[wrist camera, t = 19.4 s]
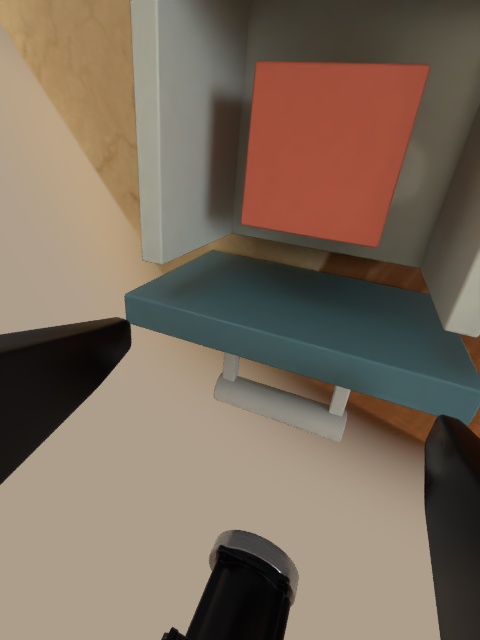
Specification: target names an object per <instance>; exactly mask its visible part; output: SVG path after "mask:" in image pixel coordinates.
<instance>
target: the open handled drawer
mask: <svg viewBox="0 0 480 640" xmlns="http://www.w3.org/2000/svg"><path fill="white" fill-rule="evenodd" d="M130 12H131V33H132V54H133V75H134V96H135V117H136V138H137V159H138V180H139V201H140V222H141V244H142V260H143V261H147V262H151V263H156V264H160V265H162V264H165V263H167V262H169V261H171V260H173V259H176V258H178V257H180V256H182V255H185V254H187V253H189V252H191V251H193V250H196V249H198V248H200V247H202V246H204V245H207V244H209V243H211V242H213V241H215V240H218V239H220V238H222V237H224V236H226V235H229V234H231V233H233V234H238V235H243V236H249V237H254V238H260V239H265V240H270V241H276V242H281V243H287V244H292V245H297V246H303V247H308V248H313V249H319V250H324V251H330V252H335V253H340V254H346V255H351V256H357V257H362V258H367V259H373V260H378V261H384V262H389V263H394V264H400V265H405V266H411V267H416V268H420V270H421V272H422V275H423V277H424V280H425V282H426V285H427V288H428V290H429V293H430V294H425V293H420V292H415V291H410V290H405V289H400V288H396V287H391V286H386V285H381V284H376V283H371V282H366V281H361V280H357V279H352V278H347V277H342V276H337V275H332V274H327V273H322V272H318V271H313V270H308V269H303V268H298V267H293V266H288V265H283V264H279V263H274V262H269V261H264V260H259V259H254V258H249V257H244V256H239V255H235V254H230V253H225V252H220V251H215V250H212V251H210V252H208V253H206V254H204V255H202V256H200V257H198V258H196V259H194V260H192V261H190V262H188V263H186V264H184V265H182V266H180V267H178V268H176V269H174V270H172V271H170V272H168V273H166V274H164V275H162V276H160V277H158V278H156V279H154V280H152V281H151V282H148V283H146V284H144V285H142V286H140V287H138V288H136V289H134V290H132V291H130V292H128V293H126V294H125V308H126V320H128V321H129V322H130V324H133V325H136V326H140V327H143V328H146V329H150V330H153V331H156V332H159V333H163V334H166V335H169V336H173V337H176V338H180V339H183V340H186V341H189V342H193V343H196V344H199V345H203V346H206V347H209V348H213V349H216V350H220V351H223V352H225V353H224V365H223V372H222V373H221V375H220V376H219V378H218V380H217V383H216V385H215V389H214V398H215V399H216V400H219V401H222V402H224V403H227V404H230V405H233V406H236V407H239V408H242V409H244V410H248V411H250V412H253V413H256V414H259V415H262V416H264V417H267V418H271V419H273V420H276V421H279V422H282V423H285V424H287V425H290V426H293V427H296V428H299V429H302V430H305V431H308V432H310V433H313V434H316V435H319V436H322V437H325V438H328V439H330V440H333V441H336V442H340V440H341V438H342V436H343V432H344V428H345V424H346V419H347V411H345V410H344V409H345V406H346V403H347V400H348V397H349V394H350V391H351V390H352V391H355V392H359V393H362V394H365V395H369V396H372V397H375V398H379V399H382V400H385V401H389V402H392V403H395V404H399V405H402V406H405V407H409V408H412V409H415V410H419V411H422V412H425V413H429V414H432V415H435V416H439V415H441V414H444V415H447V416H451V417H454V418H457V419H459V420H461V421H462V422H463V423H464V424H465V425H469V424H470V423H471V421H472V419H473V417H474V416H475V414H476V412H477V410H478V409H479V407H480V376H479V374H478V372H477V370H476V368H475V366H474V364H473V362H472V359H471V357H470V355H469V353H468V351H467V349H466V347H465V345H464V343H463V340H462V338H461V336H460V334H463V335H467V336H472V337H478V336H479V334H480V0H130ZM258 61H279V62H334V63H390V64H428V65H430V72H429V75H428V79H427V82H426V86H425V89H424V92H423V96H422V99H421V103H420V106H419V109H418V113H417V116H416V120H415V123H414V127H413V130H412V133H411V137H410V140H409V144H408V147H407V150H406V154H405V157H404V161H403V164H402V168H401V171H400V174H399V178H398V181H397V185H396V188H395V191H394V195H393V198H392V202H391V205H390V209H389V212H388V215H387V219H386V222H385V226H384V229H383V233H382V236H381V239H380V243H379V246H378V247H377V248H372V247H366V246H360V245H354V244H349V243H343V242H337V241H331V240H326V239H320V238H314V237H308V236H303V235H297V234H291V233H285V232H280V231H274V230H268V229H262V228H257V227H251V226H245V225H242V224H241V216H242V205H243V194H244V184H245V173H246V162H247V151H248V140H249V129H250V118H251V107H252V96H253V85H254V74H255V64H256V62H258ZM240 357H243V358H246V359H249V360H252V361H256V362H259V363H262V364H266V365H269V366H272V367H276V368H279V369H283V370H286V371H289V372H293V373H296V374H299V375H302V376H306V377H309V378H312V379H316V380H319V381H322V382H326V383H329V384H332V385H335V388H334V391H333V395H332V398H331V402H330V405H327V404H324V403H321V402H317V401H314V400H311V399H308V398H305V397H302V396H299V395H296V394H293V393H289V392H286V391H283V390H280V389H277V388H274V387H270V386H267V385H264V384H261V383H258V382H255V381H252V380H249V379H246V378H242V377H239V376H237V375H238V368H239V359H240Z"/></svg>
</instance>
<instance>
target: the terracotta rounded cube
mask: <svg viewBox="0 0 480 640" xmlns="http://www.w3.org/2000/svg"><path fill="white" fill-rule="evenodd" d="M429 72H430V65H428V64H390V63H334V62H279V61H258V62H256V64H255V74H254V85H253V96H252V107H251V118H250V129H249V140H248V151H247V162H246V173H245V184H244V194H243V205H242V216H241V224H242V225H245V226H251V227H257V228H262V229H268V230H274V231H280V232H285V233H291V234H297V235H303V236H308V237H314V238H320V239H326V240H331V241H337V242H343V243H349V244H354V245H360V246H366V247H372V248H377V247H378V246H379V243H380V239H381V236H382V233H383V229H384V226H385V222H386V219H387V215H388V212H389V209H390V205H391V202H392V198H393V195H394V191H395V188H396V185H397V181H398V178H399V174H400V171H401V168H402V164H403V161H404V157H405V154H406V150H407V147H408V144H409V140H410V137H411V133H412V130H413V127H414V123H415V120H416V116H417V113H418V109H419V106H420V103H421V99H422V96H423V92H424V89H425V86H426V82H427V79H428V75H429Z"/></svg>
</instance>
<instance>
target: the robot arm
mask: <svg viewBox="0 0 480 640" xmlns="http://www.w3.org/2000/svg"><path fill="white" fill-rule="evenodd" d="M130 347H131V326H130V322H129V321H128V320H125V319H121V318H118V317H115V318H108V319H102V320H95V321H88V322H81V323H75V324H68V325H62V326H55V327H48V328H41V329H34V330H28V331H22V332H15V333H8V334H1V335H0V485H1V484H2V483H3V482H4V481H5V480H6V479H7V478H8V477H9V476H10V475H11V474H12V473H13V472H14V471H15V470H16V468H18V467H19V466H20V465H21V464H22V463H23V462H24V461H25V460H26V459H27V458H28V457H29V456H30V455H31V454H32V453H33V452H34V451H35V450H36V448H38V447H39V446H40V445H41V444H42V443H43V442H44V441H45V440H46V439H47V438H48V437H49V436H50V435H51V434H52V433H53V432H54V431H55V430H56V429H57V428H58V427H59V426H60V425H61V424H62V423H63V422H64V421H65V420H66V419H67V418H68V417H69V416H70V414H72V413H73V412H74V411H75V410H76V409H77V408H78V407H79V406H80V405H81V404H82V403H83V402H84V401H85V400H86V399H87V398H88V397H89V396H90V395H91V394H92V393H93V392H94V391H95V390H96V389H97V388H98V387H99V386H100V384H101V383H102V382H103V381H104V380H105V379H106V378H107V376H108V375H109V374H110V373H111V371H112V370H113V369H114V368H115V367H116V365H117V364H118V363H119V362H120V360H121V359H122V358H123V357H124V356H125V354H126V353H127V352H128V350H129V349H130ZM424 489H425V490H424V494H425V495H424V499H425V515H426V524H427V531H428V540H429V548H430V556H431V565H432V573H433V581H434V589H435V597H436V606H437V614H438V621H439V630H440V638H441V640H480V439H479V438H478V437H477V436H476V435H475V434H474V433H473V432H472V431H471V430H470V429H469V428H468V427H467V426H466V425H465V424H464V423H463V422H462V421H461V420H459V419H457V418H454V417H451V416H447V415H444V414H441V415H439V416H438V417H437V418H436V420H435V422H434V424H433V426H432V428H431V430H430V433H429V435H428V437H427V439H426V442H425V484H424ZM289 586H290V579H289V578H288V577H287V576H285V575H283V574H281V573H279V572H277V571H275V570H273V569H271V568H269V567H267V566H265V565H263V564H261V563H259V562H256V561H254V560H252V559H250V558H248V557H246V556H244V555H242V554H240V553H238V552H236V551H234V550H232V549H230V548H228V547H226V546H224V545H219V546H218V548H217V551H216V559H215V566H214V568H213V570H212V573H211V575H210V578H209V580H208V582H207V585H206V587H205V590H204V592H203V595H202V597H201V599H200V602H199V604H198V607H197V609H196V611H195V614H194V616H193V619H192V621H191V623H190V626H189V628H188V631H187V633H186V636H184V635H182V634H181V633H179V632H178V630H177V629H175V628H174V627H172V628H171V630H170V632H169V633H164V635H163V637H162V639H161V640H284V634H285V629H286V625H287V620H288V615H289V610H290V605H291V601H290V599H289V598H288V597H286V596H287V592H288V589H289Z"/></svg>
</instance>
